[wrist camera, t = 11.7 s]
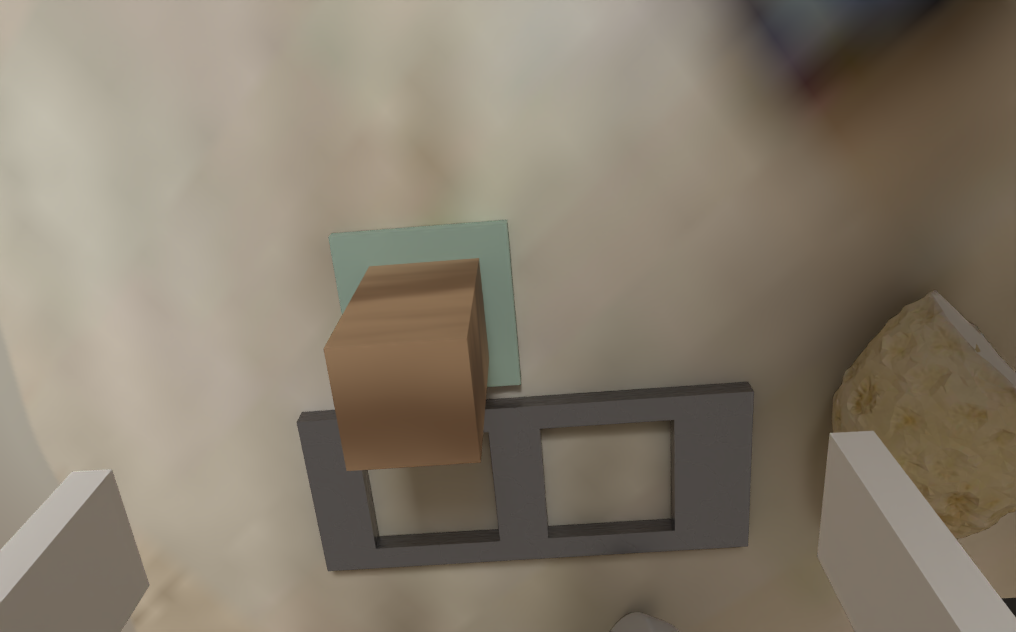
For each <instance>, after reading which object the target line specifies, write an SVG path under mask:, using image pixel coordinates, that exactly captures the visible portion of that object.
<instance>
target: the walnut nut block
mask: <svg viewBox="0 0 1016 632" xmlns="http://www.w3.org/2000/svg"><path fill="white" fill-rule="evenodd" d="M324 353H325V358H326V364H327V369H328V374H329V380H330V385H331V390H332V396H333V401H334V406H335V412H336V417H337V422H338V428H339V433H340V438H341V444H342V449H343V454H344V460H345V465H346V470H347V471H356V470H372V469H387V468H402V467H418V466H433V465H449V464H464V463H479V462H481V454H482V441H483V429H484V417H485V405H486V392H487V380H488V368H489V351H488V341H487V332H486V322H485V312H484V302H483V292H482V282H481V273H480V263H479V258H473V259H460V260H447V261H433V262H420V263H407V264H394V265H381V266H369V268H368V269H367V271H366V273H365V275H364V277H363V278H362V280H361V282H360V284H359V286H358V287H357V289H356V291H355V293H354V295H353V296H352V298H351V300H350V302H349V304H348V305H347V307H346V309H345V311H344V313H343V315H342V316H341V318H340V320H339V322H338V324H337V325H336V327H335V329H334V331H333V333H332V334H331V336H330V338H329V340H328V342H327V343H326V345H325V347H324Z"/></svg>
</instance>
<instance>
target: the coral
mask: <svg viewBox="0 0 1016 632" xmlns="http://www.w3.org/2000/svg"><path fill="white" fill-rule="evenodd" d="M832 426H833V433H839V432H858V431H874V432H875V433H876V435H877V436H878V437H879V438H880V440H881V441H882V442H883V444H884V445H885V446H886V448H887V449H888V450H889V452H890V453H891V454H892V456H893V457H894V458H895V460H896V461H897V462H898V463H899V465H900V466H901V467H902V469H903V470H904V471H905V473H906V474H907V475H908V477H909V478H910V479H911V481H912V482H913V483H914V484H915V486H916V487H917V488H918V490H919V491H920V492H921V494H922V495H923V496H924V498H925V499H926V500H927V502H928V503H929V504H930V505H931V507H932V508H933V509H934V511H935V512H936V513H937V515H938V516H939V517H940V519H941V520H942V521H943V523H944V524H945V525H946V527H947V528H948V529H949V530H950V532H951V533H952V534H953V536H954V537H955V538H956V539H959V538H963V537H967V536H969V535H971V534H974V533H978V532H980V531H983V530H986V529H988V528H990V527H991V526H992V525H994V524H996V523H997V522H998V521H999V519H1000V518H1001V517H1003V516H1005V515H1006V514H1007V513H1010V512H1015V511H1016V372H1015V371H1014V370H1013V369H1012V368H1011V367H1010V366H1009V365H1008V364H1007V363H1006V362H1005V361H1004V360H1003V359H1002V358H1001V357H1000V356H999V355H998V353H997V352H996V351H995V350H994V348H993V347H992V346H991V344H990V343H989V342H988V341H987V339H986V338H985V337H984V335H983V334H982V333H981V331H980V330H979V329H978V327H977V326H975V325H974V324H972V323H970V322H968V321H967V320H966V319H964V317H963V316H962V315H961V314H960V313H959V312H958V311H957V310H956V309H955V308H954V307H953V306H952V305H951V304H950V303H949V302H948V301H947V300H945V299H944V298H943V297H942V296H941V295H940V294H939V293H938V291H937V290H933V291H932V292H929V293H927V294H926V296H925V297H924V298H922V299H920V300H918V301H916V302H914V303H911V304H908V305H906V306H904V307H903V309H902V310H901V312H900V313H899V314H898V315H896V316H895V317H893V318H891V319H890V320H888V321H887V323H886V325H885V326H884V328H883V329H882V330H881V331H880V332H879V333H878V334H877V335H876V337H875V338H874V339H872V340H871V341H870V342H869V343H868V346H867V348H865V349H864V351H863V352H862V353H861V354H860V355H859V357H858V358H857V359H856V360H855V362H854V363H853V364H852V366H851V367H850V368H849V369H847V370H846V371H845V373H844V376H843V380H842V385H841V386H840V387H839V388H838V390H837V391H836V392H835V394H834V396H833V408H832Z"/></svg>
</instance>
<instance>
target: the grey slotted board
mask: <svg viewBox="0 0 1016 632" xmlns="http://www.w3.org/2000/svg"><path fill="white" fill-rule="evenodd" d="M753 400H754V391H753V389H752V388H751V386H750V384H749V383H748V382H740V383H725V384H710V385H696V386H681V387H666V388H651V389H637V390H622V391H607V392H592V393H578V394H563V395H548V396H534V397H519V398H504V399H489V400H486V405H485V417H484V429H483V432H489V441H490V450H491V460H492V469H493V479H494V488H495V498H496V507H497V516H498V526H499V529H495V530H479V531H462V532H446V533H429V534H413V535H397V536H380V537H379V534H378V528H377V522H376V516H375V511H374V505H373V499H372V494H371V488H370V482H369V476H368V471H367V470H356V471H347V470H346V465H345V460H344V454H343V449H342V444H341V438H340V433H339V428H338V422H337V417H336V412H335V410H327V411H313V412H302V413H301V415H300V417H299V419H298V421H297V426H298V431H299V435H300V440H301V445H302V450H303V455H304V459H305V464H306V469H307V474H308V479H309V483H310V488H311V493H312V498H313V502H314V507H315V512H316V517H317V522H318V526H319V531H320V536H321V541H322V545H323V550H324V555H325V560H326V565H327V569H328V571H338V570H355V569H372V568H389V567H405V566H422V565H439V564H456V563H473V562H490V561H507V560H524V559H541V558H558V557H575V556H591V555H608V554H625V553H642V552H659V551H676V550H693V549H710V548H727V547H744V546H748V534H749V507H750V481H751V454H752V427H753ZM664 420H671V519H660V520H643V521H627V522H610V523H594V524H577V525H561V526H548V524H547V511H546V498H545V485H544V472H543V459H542V447H541V434H540V429H543V428H558V427H573V426H588V425H603V424H619V423H634V422H649V421H664Z"/></svg>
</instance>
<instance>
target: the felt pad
mask: <svg viewBox="0 0 1016 632" xmlns="http://www.w3.org/2000/svg"><path fill="white" fill-rule="evenodd" d="M328 238H329V243H330V249H331V255H332V261H333V266H334V272H335V278H336V283H337V289H338V295H339V301H340V306H341V312H342V315H343V313H344V311H345V309H346V307H347V305H348V304H349V302H350V300H351V298H352V296H353V295H354V293H355V291H356V289H357V287H358V286H359V284H360V282H361V280H362V278H363V277H364V275H365V273H366V271H367V269H368V268H369V266H381V265H394V264H407V263H420V262H433V261H447V260H460V259H473V258H479V263H480V273H481V282H482V292H483V302H484V312H485V322H486V332H487V341H488V351H489V368H488V380H487V387H495V386H509V385H521V376H520V364H519V352H518V341H517V329H516V317H515V306H514V294H513V282H512V271H511V259H510V248H509V236H508V224H507V220H499V221H486V222H473V223H460V224H447V225H434V226H421V227H408V228H395V229H383V230H370V231H357V232H344V233H331V235H330V236H329V237H328Z"/></svg>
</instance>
